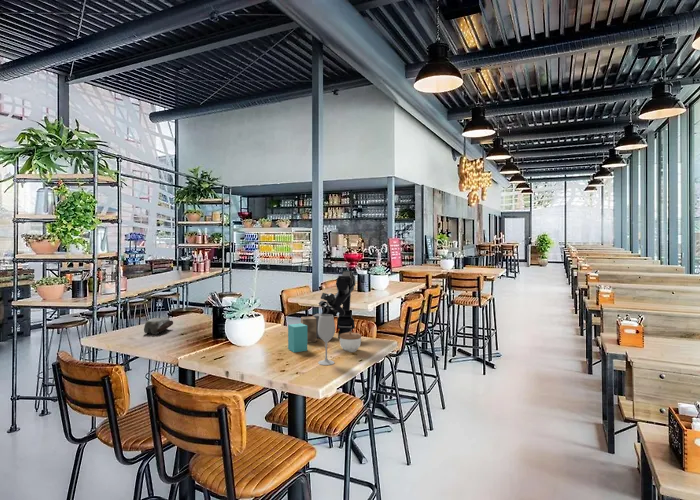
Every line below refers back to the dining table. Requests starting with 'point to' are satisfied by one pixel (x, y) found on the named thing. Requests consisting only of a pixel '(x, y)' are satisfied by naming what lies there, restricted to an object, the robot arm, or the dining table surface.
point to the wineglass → (326, 333)
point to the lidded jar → (350, 341)
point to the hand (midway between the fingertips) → (320, 321)
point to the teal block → (297, 337)
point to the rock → (157, 325)
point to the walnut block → (310, 328)
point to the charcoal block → (317, 324)
